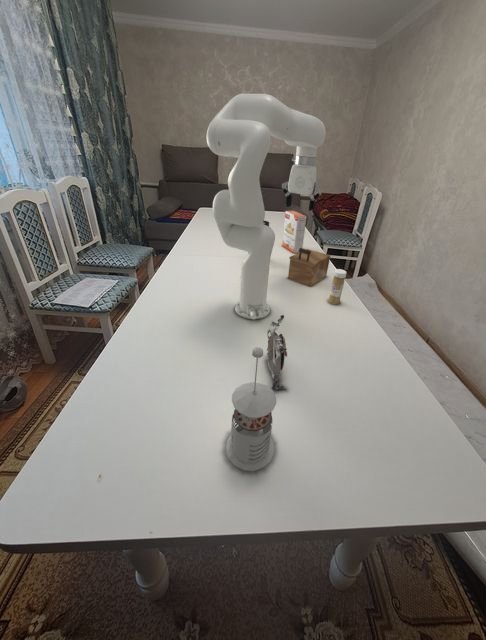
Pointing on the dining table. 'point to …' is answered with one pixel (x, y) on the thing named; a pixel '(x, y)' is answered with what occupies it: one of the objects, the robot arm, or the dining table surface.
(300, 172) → the robot arm
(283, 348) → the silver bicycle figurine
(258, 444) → the french press
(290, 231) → the cracker box
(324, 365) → the dining table surface
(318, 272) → the wooden box
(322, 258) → the lid
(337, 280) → the sprinkles bottle
